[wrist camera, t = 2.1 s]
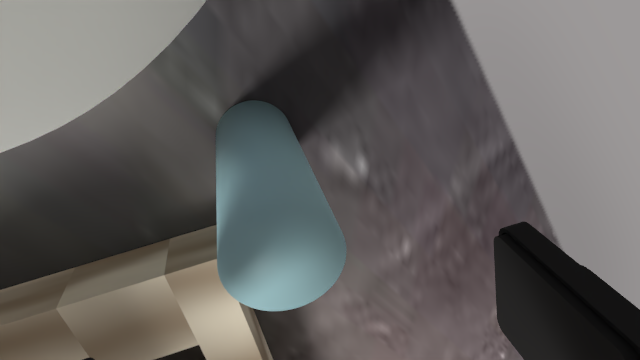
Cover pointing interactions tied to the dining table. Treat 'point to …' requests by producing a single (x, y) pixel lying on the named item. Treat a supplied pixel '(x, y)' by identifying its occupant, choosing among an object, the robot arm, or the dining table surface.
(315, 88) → the dining table surface
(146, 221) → the dining table surface
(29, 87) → the water bottle
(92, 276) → the socket block
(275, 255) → the peg
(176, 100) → the dining table surface
